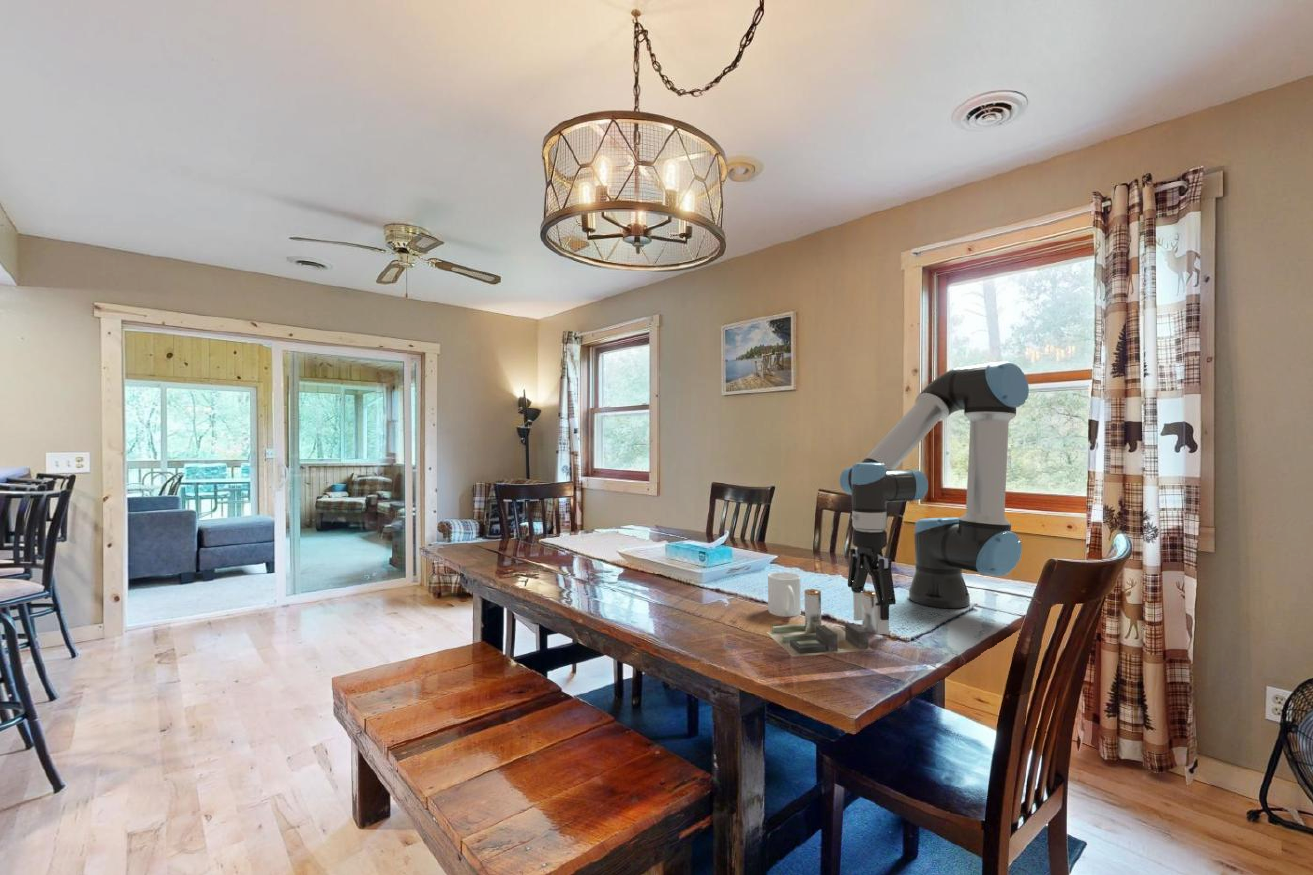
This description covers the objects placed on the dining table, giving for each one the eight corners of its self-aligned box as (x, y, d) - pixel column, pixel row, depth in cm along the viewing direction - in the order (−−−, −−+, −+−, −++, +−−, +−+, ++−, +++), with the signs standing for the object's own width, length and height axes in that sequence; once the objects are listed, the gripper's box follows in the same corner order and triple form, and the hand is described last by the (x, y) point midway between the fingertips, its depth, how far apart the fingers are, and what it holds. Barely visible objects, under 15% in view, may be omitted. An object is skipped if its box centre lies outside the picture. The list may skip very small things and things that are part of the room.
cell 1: (817, 631, 131) (816, 587, 131) (824, 636, 128) (823, 591, 128) (802, 632, 131) (801, 588, 131) (809, 637, 127) (808, 592, 127)
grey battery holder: (838, 630, 134) (837, 611, 134) (873, 654, 119) (872, 633, 119) (766, 636, 131) (765, 617, 131) (792, 661, 116) (792, 639, 116)
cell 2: (873, 631, 133) (873, 588, 133) (882, 637, 130) (881, 592, 130) (859, 632, 133) (858, 589, 133) (867, 638, 129) (867, 593, 129)
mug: (809, 625, 139) (808, 583, 139) (775, 625, 138) (774, 583, 139) (796, 610, 151) (795, 571, 151) (765, 610, 150) (765, 572, 151)
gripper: (831, 523, 141) (833, 613, 141) (880, 537, 120) (882, 644, 120) (859, 522, 143) (860, 611, 143) (912, 536, 121) (914, 641, 121)
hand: (870, 626), depth 131 cm, fingers open, 9 cm apart
